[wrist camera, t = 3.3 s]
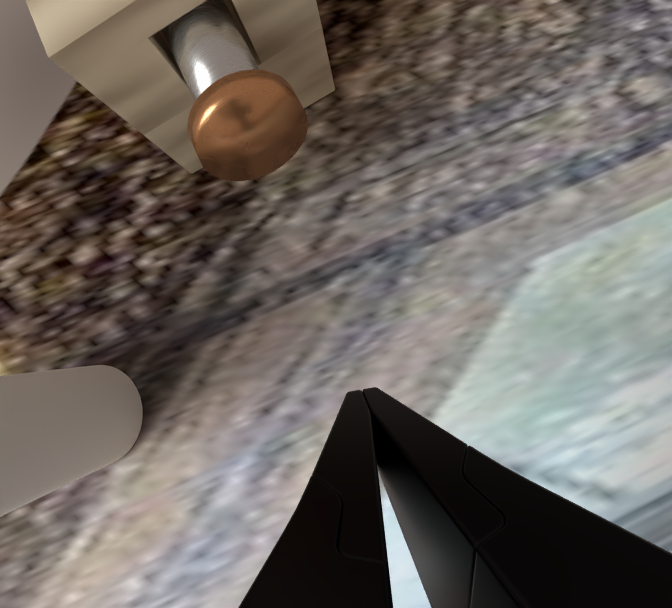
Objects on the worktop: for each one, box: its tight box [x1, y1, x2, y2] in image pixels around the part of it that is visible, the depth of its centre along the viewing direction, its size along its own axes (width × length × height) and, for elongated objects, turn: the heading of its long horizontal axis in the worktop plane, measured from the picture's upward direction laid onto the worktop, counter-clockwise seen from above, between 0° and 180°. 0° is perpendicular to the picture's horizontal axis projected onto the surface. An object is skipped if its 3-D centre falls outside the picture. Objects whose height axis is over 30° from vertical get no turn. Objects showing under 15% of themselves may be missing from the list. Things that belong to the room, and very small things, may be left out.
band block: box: [26, 0, 335, 174], centre depth 19 cm, size 8×12×10 cm, turn 116°
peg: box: [161, 0, 308, 181], centre depth 17 cm, size 9×6×6 cm, turn 26°
